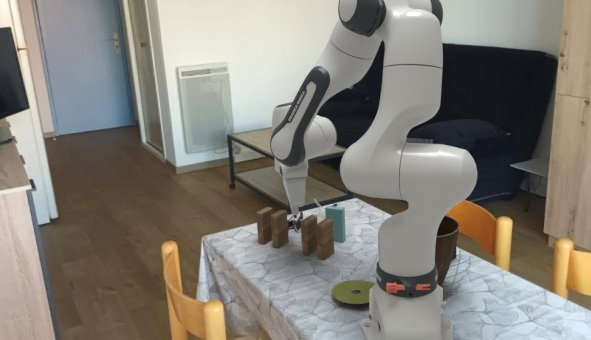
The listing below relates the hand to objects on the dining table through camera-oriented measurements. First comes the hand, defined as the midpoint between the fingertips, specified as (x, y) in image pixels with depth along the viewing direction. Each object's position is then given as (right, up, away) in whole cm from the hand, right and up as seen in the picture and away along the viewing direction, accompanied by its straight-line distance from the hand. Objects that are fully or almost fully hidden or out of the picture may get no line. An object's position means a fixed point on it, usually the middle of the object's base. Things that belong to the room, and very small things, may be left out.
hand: (294, 211), depth 155 cm
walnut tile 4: (+4, -11, 0) cm, 12 cm away
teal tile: (+12, -9, +7) cm, 16 cm away
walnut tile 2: (-4, -10, +6) cm, 12 cm away
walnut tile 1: (-8, -10, +8) cm, 15 cm away
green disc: (+14, -18, -25) cm, 34 cm away
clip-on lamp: (+11, 0, +26) cm, 28 cm away
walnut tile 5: (+9, -12, -3) cm, 15 cm away
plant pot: (+31, -16, -22) cm, 41 cm away
